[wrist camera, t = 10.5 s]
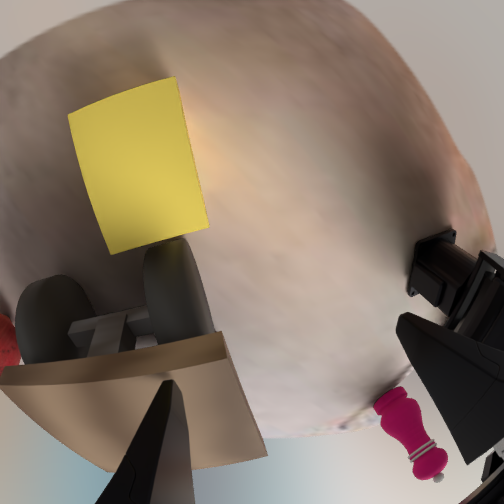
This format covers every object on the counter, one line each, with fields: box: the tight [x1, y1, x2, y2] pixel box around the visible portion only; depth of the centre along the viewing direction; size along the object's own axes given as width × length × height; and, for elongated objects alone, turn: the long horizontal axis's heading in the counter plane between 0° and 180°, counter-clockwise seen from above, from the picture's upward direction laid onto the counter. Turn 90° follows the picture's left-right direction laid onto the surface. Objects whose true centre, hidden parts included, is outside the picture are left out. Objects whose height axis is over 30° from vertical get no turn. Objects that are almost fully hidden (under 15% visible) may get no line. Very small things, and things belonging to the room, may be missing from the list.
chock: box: [68, 76, 209, 255], centre depth 13 cm, size 5×7×5 cm
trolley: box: [0, 238, 268, 473], centre depth 16 cm, size 13×16×10 cm
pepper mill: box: [374, 386, 448, 483], centre depth 29 cm, size 7×7×20 cm
